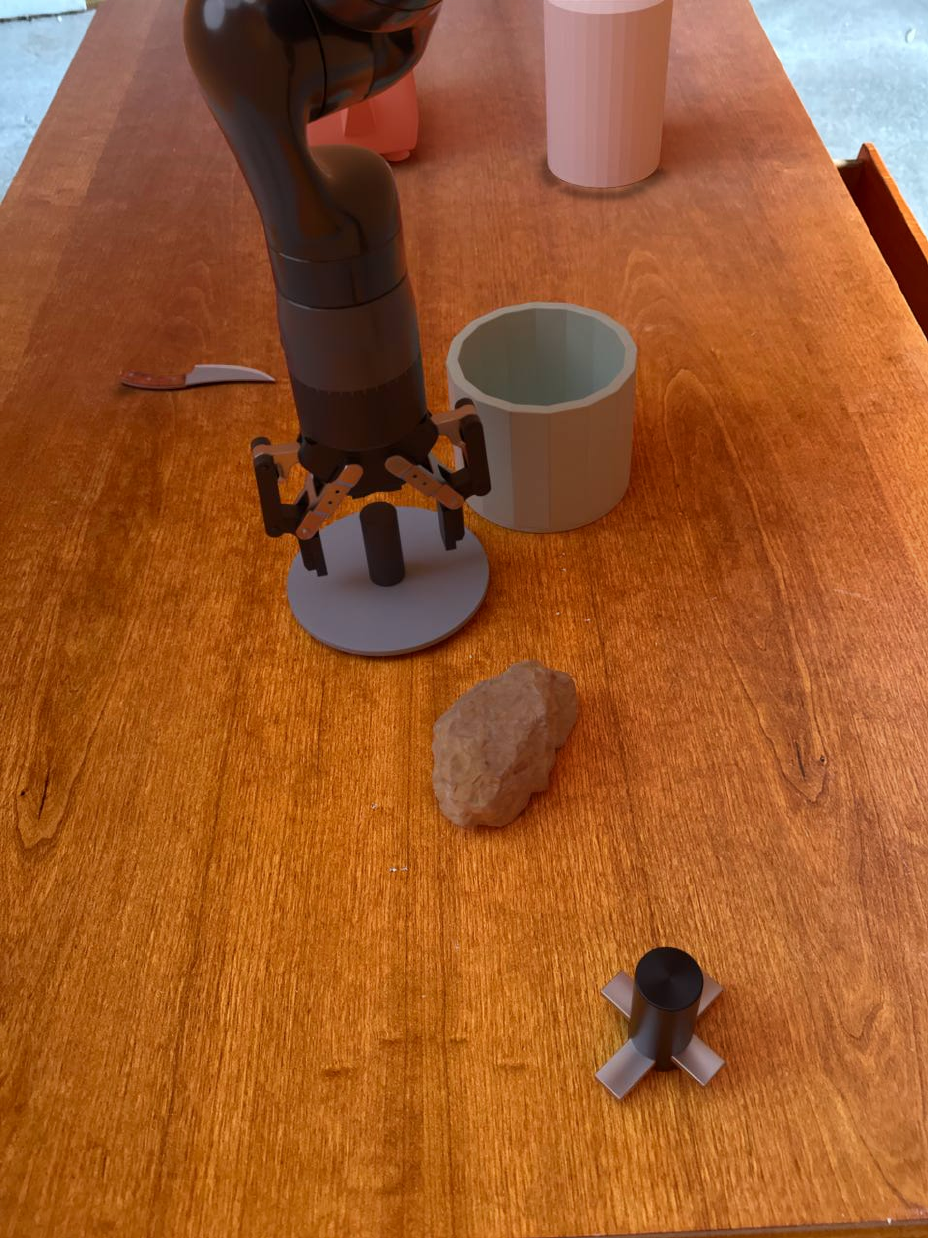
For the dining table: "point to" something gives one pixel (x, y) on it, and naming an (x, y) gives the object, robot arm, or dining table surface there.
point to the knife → (192, 377)
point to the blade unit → (661, 1021)
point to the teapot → (374, 123)
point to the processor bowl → (548, 412)
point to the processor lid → (388, 582)
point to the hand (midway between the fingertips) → (385, 554)
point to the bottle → (605, 88)
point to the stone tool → (501, 743)
